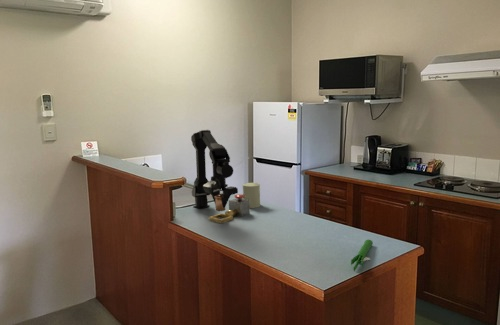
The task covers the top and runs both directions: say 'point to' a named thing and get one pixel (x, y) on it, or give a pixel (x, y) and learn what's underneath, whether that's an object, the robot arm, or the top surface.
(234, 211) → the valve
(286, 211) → the top surface
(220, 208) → the stub
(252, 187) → the can
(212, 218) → the socket
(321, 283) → the top surface
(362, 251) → the green onion
